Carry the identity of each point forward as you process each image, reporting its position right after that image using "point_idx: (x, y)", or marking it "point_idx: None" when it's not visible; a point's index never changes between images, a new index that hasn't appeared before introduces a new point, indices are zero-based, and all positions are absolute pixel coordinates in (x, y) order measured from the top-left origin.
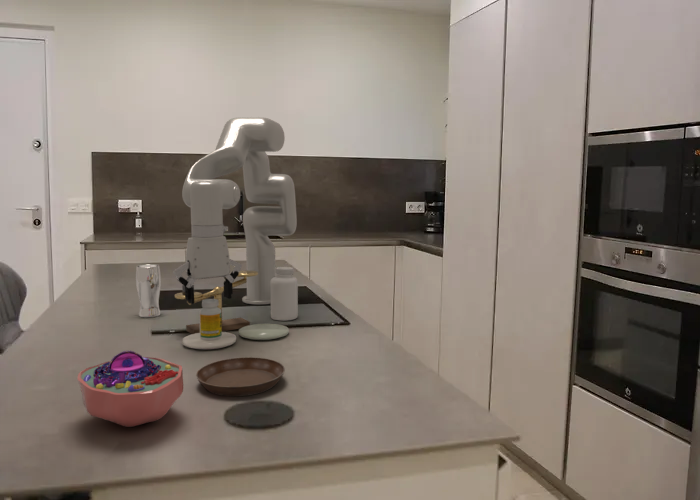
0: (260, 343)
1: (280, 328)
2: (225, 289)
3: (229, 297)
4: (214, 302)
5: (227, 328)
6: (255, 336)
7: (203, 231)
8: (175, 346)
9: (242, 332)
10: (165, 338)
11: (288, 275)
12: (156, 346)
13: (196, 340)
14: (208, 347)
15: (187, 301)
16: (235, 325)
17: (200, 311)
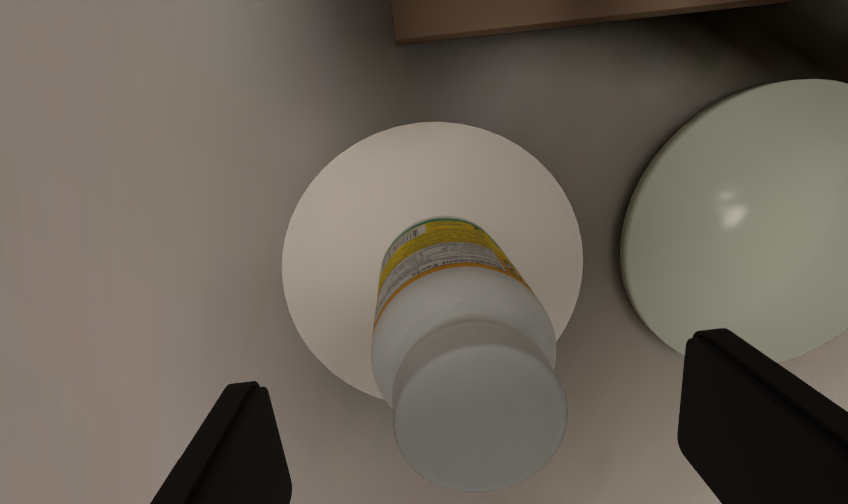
0: (653, 363)
1: None
2: (750, 443)
3: (691, 456)
4: (499, 485)
5: (633, 17)
6: (664, 341)
7: None
8: (250, 234)
9: (643, 241)
10: (208, 22)
11: None
12: (146, 186)
13: (355, 290)
14: None
15: (234, 386)
16: (701, 7)
17: (375, 375)
